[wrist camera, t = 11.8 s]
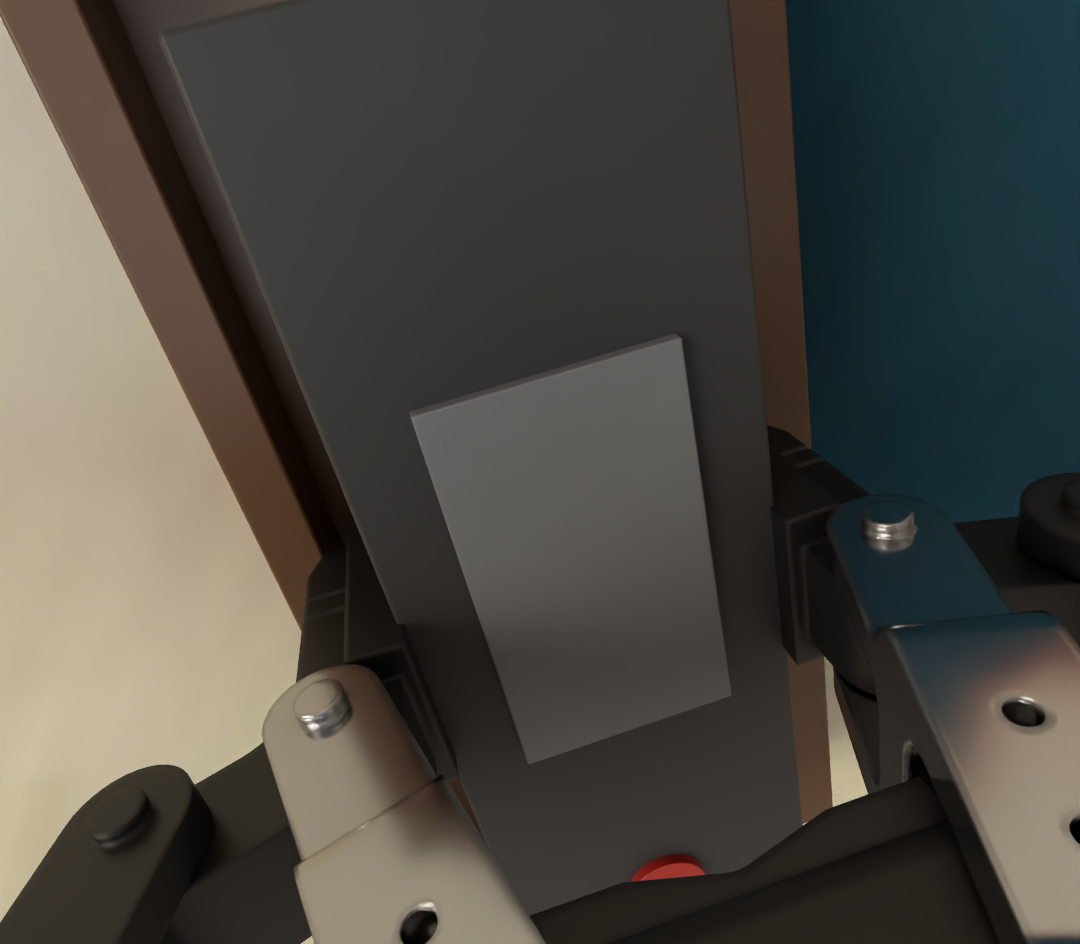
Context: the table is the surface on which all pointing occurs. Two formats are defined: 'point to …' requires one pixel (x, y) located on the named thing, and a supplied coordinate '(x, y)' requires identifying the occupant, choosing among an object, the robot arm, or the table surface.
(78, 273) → the table surface
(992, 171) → the table surface
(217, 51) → the remote
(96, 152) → the tray
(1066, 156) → the table surface
